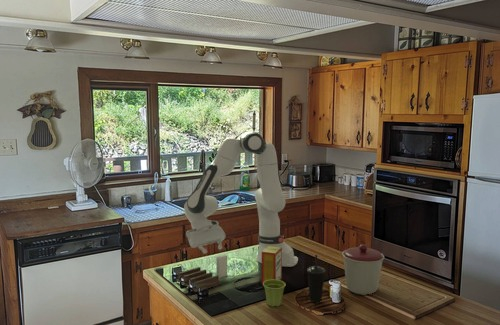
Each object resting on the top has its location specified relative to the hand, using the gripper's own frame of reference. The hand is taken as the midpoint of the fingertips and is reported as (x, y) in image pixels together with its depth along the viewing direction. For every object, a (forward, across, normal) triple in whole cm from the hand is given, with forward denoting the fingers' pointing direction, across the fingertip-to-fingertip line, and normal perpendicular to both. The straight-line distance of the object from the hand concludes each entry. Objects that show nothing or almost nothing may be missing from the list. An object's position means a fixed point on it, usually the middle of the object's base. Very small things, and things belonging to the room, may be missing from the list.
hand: (213, 250), depth 206 cm
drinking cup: (+47, +13, -31) cm, 57 cm away
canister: (+52, +37, -36) cm, 73 cm away
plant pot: (+40, -2, -24) cm, 46 cm away
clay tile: (+13, 0, +3) cm, 13 cm away
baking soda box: (+28, +14, -12) cm, 33 cm away
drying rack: (+13, -14, +3) cm, 19 cm away
